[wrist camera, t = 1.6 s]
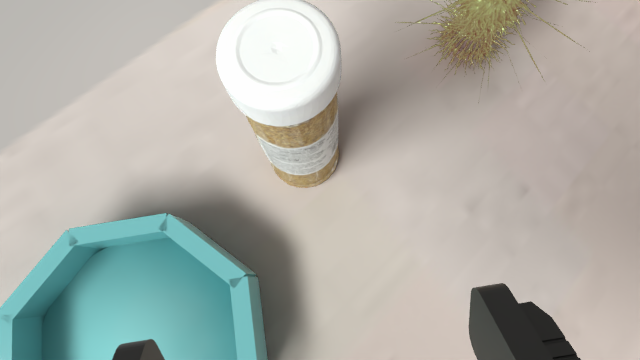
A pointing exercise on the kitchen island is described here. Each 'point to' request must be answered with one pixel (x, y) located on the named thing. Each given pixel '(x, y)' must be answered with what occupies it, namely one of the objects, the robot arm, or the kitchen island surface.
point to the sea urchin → (480, 27)
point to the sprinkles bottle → (286, 84)
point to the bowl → (135, 296)
